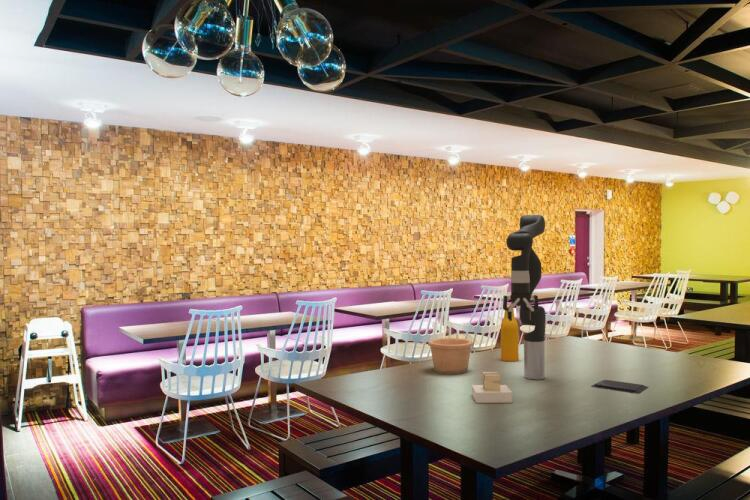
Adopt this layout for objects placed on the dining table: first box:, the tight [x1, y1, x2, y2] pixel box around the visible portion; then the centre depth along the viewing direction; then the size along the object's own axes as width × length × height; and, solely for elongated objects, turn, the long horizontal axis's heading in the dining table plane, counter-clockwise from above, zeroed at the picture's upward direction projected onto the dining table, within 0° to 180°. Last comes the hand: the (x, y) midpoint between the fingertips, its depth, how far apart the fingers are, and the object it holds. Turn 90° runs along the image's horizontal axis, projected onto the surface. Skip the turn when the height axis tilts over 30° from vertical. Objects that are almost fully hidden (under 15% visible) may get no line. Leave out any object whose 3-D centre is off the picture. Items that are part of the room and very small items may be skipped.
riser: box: [471, 384, 513, 404], centre depth 228 cm, size 12×14×4 cm
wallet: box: [590, 379, 649, 395], centre depth 243 cm, size 20×2×15 cm
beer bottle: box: [500, 305, 520, 362], centre depth 304 cm, size 9×9×29 cm
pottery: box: [427, 337, 474, 375], centre depth 280 cm, size 22×22×14 cm
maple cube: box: [482, 371, 501, 391], centre depth 228 cm, size 6×6×6 cm
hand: (520, 320), depth 236 cm, fingers open, 8 cm apart
